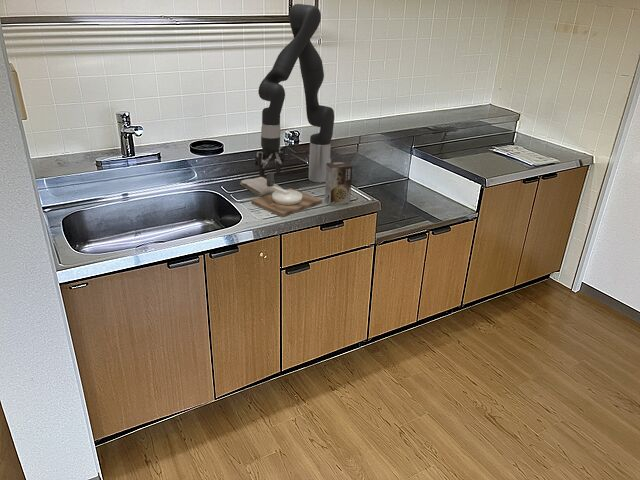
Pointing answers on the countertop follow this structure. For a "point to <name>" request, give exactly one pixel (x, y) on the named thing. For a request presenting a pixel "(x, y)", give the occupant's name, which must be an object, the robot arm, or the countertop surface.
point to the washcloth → (258, 186)
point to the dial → (282, 193)
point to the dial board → (286, 210)
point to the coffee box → (338, 183)
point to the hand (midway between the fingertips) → (269, 174)
